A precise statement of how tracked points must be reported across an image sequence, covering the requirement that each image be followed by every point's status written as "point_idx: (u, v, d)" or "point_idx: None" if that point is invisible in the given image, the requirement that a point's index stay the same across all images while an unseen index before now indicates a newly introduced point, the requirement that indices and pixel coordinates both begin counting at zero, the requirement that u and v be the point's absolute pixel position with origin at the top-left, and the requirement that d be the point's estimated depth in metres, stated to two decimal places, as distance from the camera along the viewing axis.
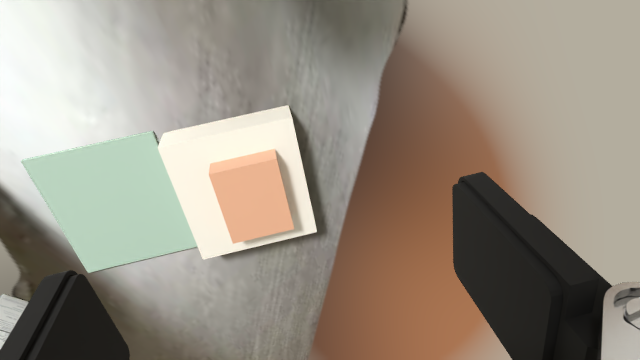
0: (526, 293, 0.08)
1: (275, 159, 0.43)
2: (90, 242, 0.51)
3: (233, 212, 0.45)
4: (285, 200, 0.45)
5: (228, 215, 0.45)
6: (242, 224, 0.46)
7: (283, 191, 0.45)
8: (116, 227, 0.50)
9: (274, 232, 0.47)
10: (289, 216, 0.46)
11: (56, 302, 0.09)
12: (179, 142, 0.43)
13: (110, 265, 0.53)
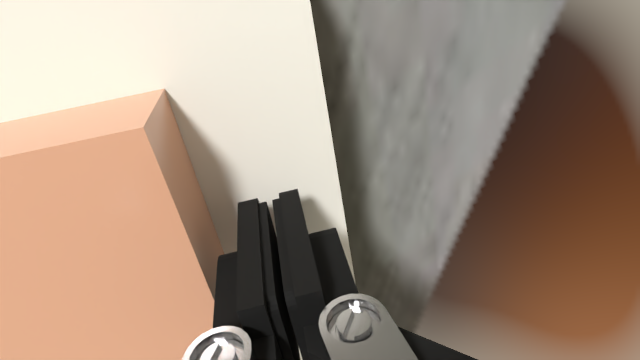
0: None
1: (138, 131, 0.08)
2: None
3: None
4: (212, 316, 0.10)
5: None
6: None
7: (199, 282, 0.10)
8: None
9: None
10: None
11: (261, 219, 0.10)
12: None
13: None
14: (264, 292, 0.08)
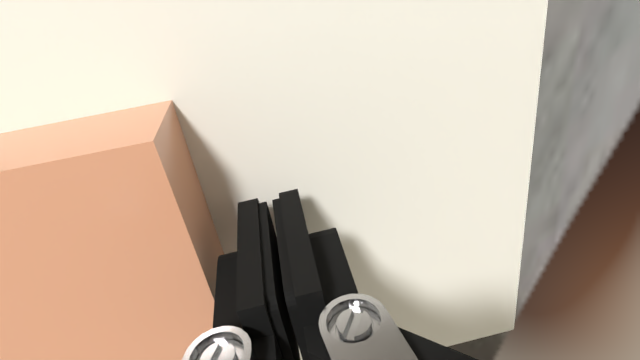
0: None
1: (147, 144, 0.08)
2: None
3: None
4: None
5: None
6: None
7: (204, 291, 0.10)
8: None
9: None
10: None
11: (261, 219, 0.10)
12: None
13: None
14: (264, 292, 0.08)
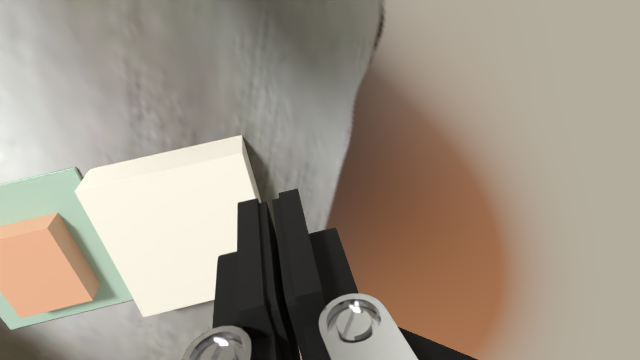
0: None
1: None
2: None
3: None
4: None
5: None
6: None
7: None
8: None
9: None
10: None
11: (261, 219, 0.10)
12: (102, 184, 0.35)
13: (37, 320, 0.44)
14: (264, 292, 0.08)
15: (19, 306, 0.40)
